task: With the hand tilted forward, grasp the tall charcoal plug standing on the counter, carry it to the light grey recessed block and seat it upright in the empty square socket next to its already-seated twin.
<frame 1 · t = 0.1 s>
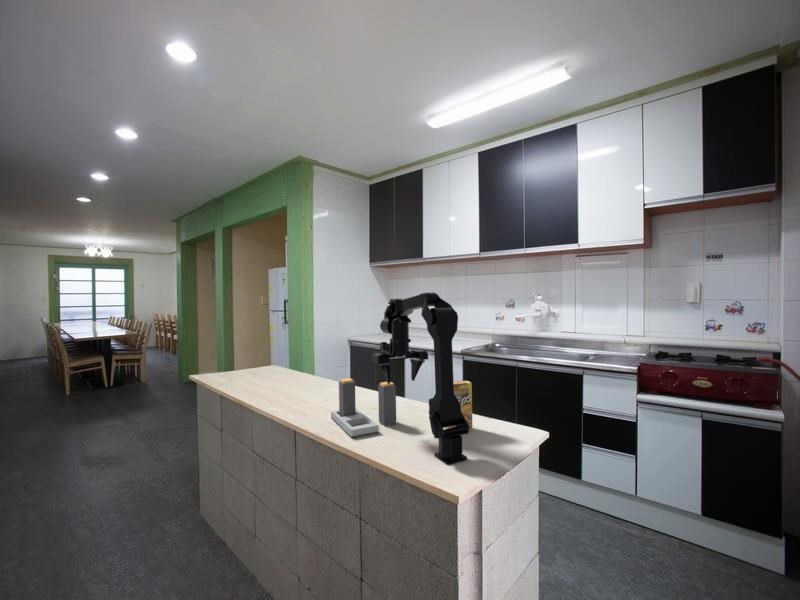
hand: (400, 382, 120), 15 cm above the countertop, tool pointing down, fingers open, 9 cm apart
light grey recessed block: (353, 425, 122), on the countertop
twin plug: (347, 420, 127), resting on light grey recessed block
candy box: (457, 430, 116), on the countertop
plug: (387, 423, 123), on the countertop
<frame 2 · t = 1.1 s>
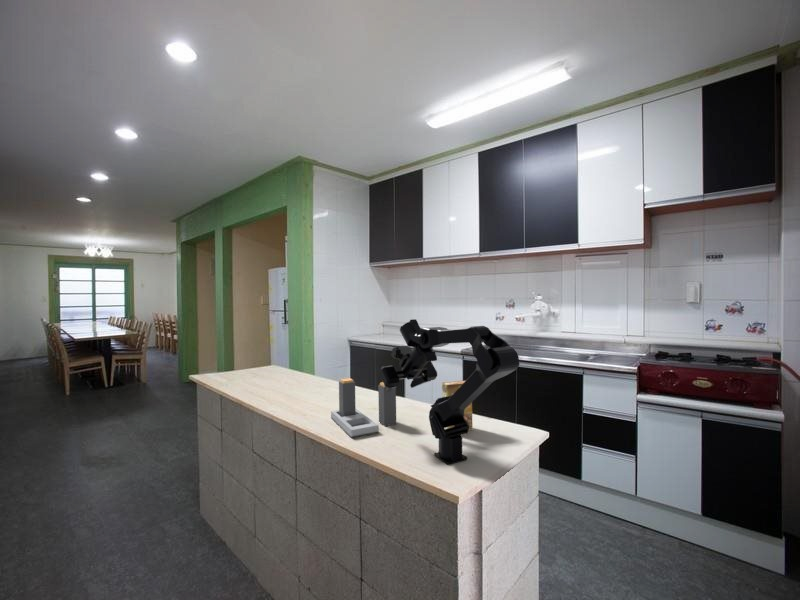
hand: (399, 388, 116), 13 cm above the countertop, tool tilted 45°, fingers open, 9 cm apart
nothing on the countertop moved.
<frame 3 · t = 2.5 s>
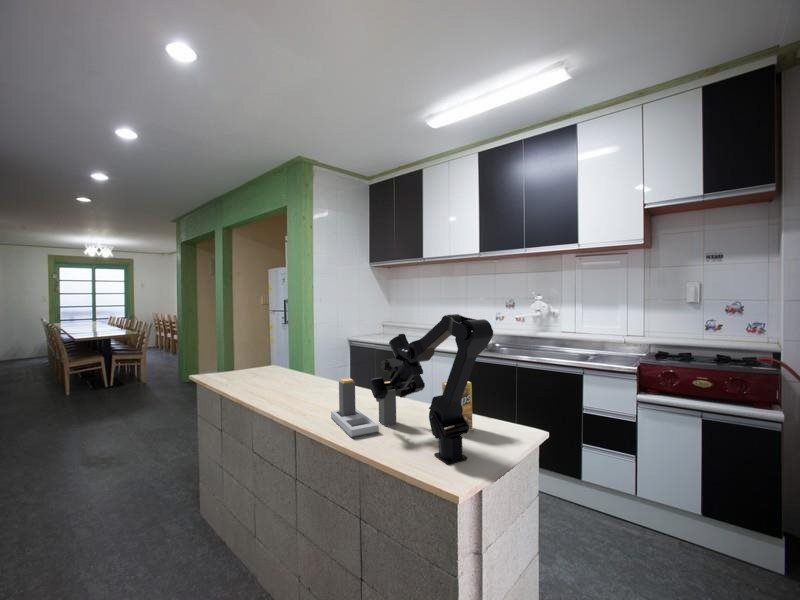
hand: (388, 398, 122), 9 cm above the countertop, tool tilted 45°, fingers open, 9 cm apart
nothing on the countertop moved.
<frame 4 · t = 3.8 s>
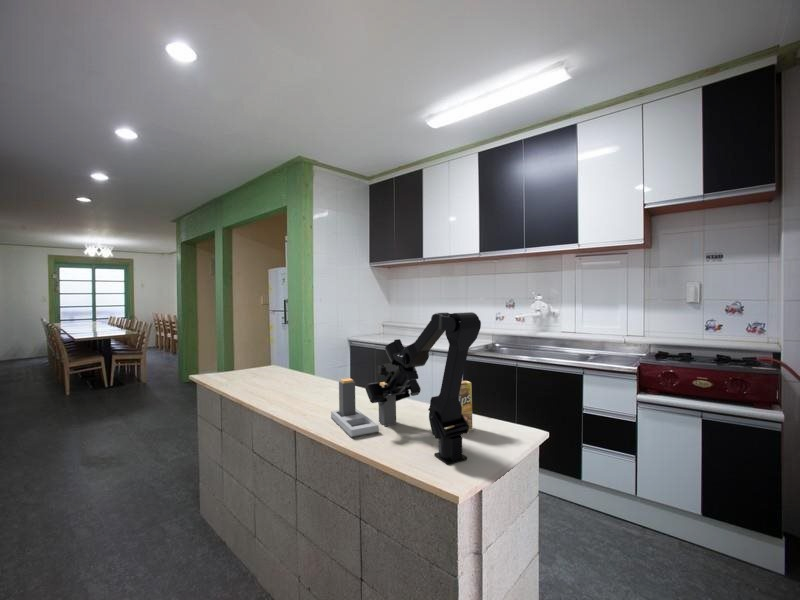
hand: (385, 402, 124), 7 cm above the countertop, tool tilted 45°, fingers closed on plug, 5 cm apart
plug: (387, 423, 123), on the countertop, touching gripper
everything else where it was.
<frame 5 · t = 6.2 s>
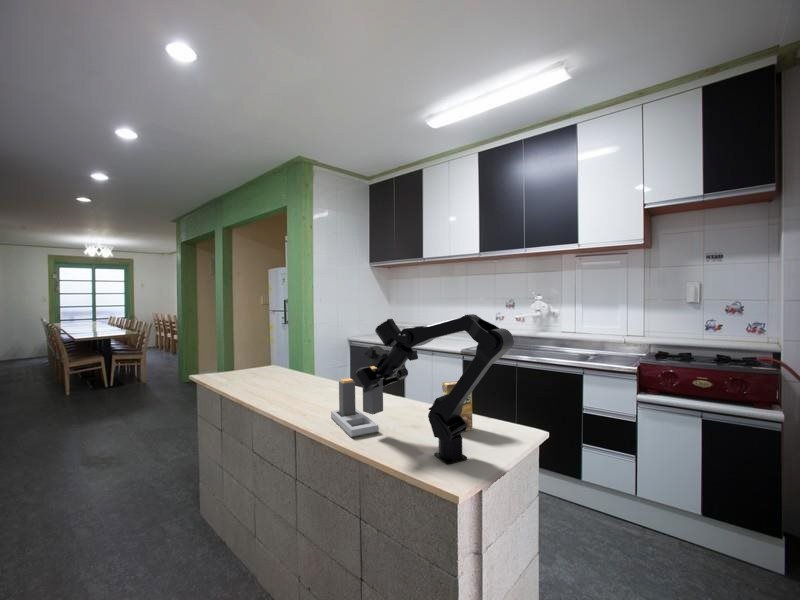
hand: (369, 389, 114), 14 cm above the countertop, tool tilted 45°, fingers closed on plug, 5 cm apart
plug: (373, 411, 113), point 7 cm above the countertop, touching gripper
everything else where it was.
when the fingers open (9 cm above the countertop, at t = 8.4 s): plug drops 2 cm, resting on light grey recessed block.
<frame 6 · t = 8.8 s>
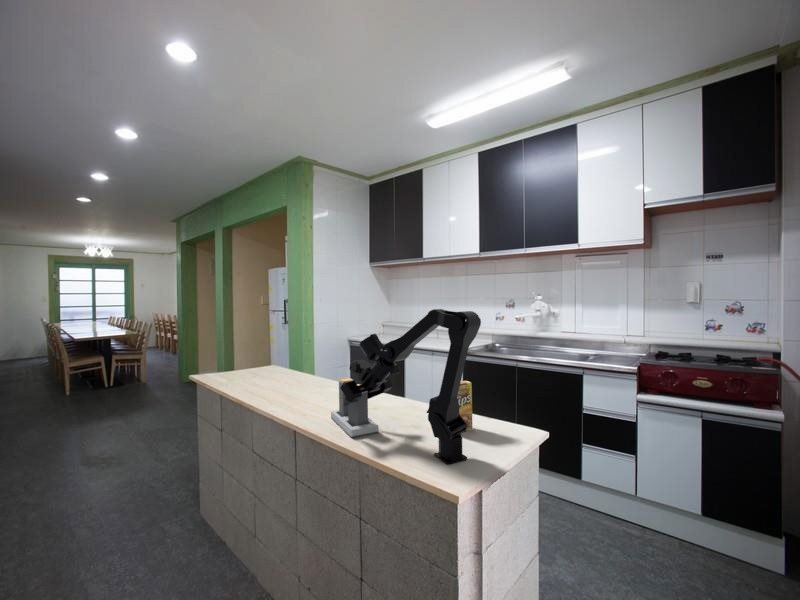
hand: (355, 401, 118), 9 cm above the countertop, tool tilted 45°, fingers open, 9 cm apart
plug: (358, 428, 117), resting on light grey recessed block
everything else where it was.
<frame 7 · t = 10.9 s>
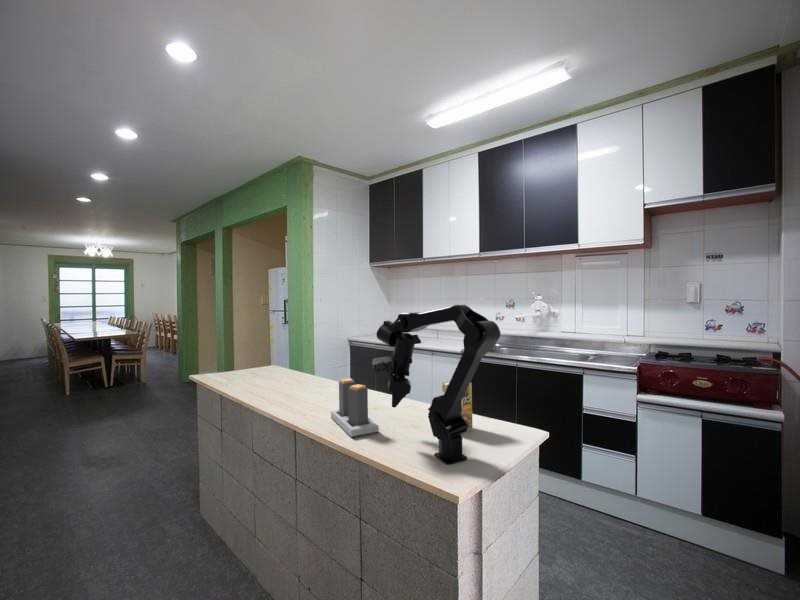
hand: (393, 399, 111), 11 cm above the countertop, tool tilted 20°, fingers open, 9 cm apart
nothing on the countertop moved.
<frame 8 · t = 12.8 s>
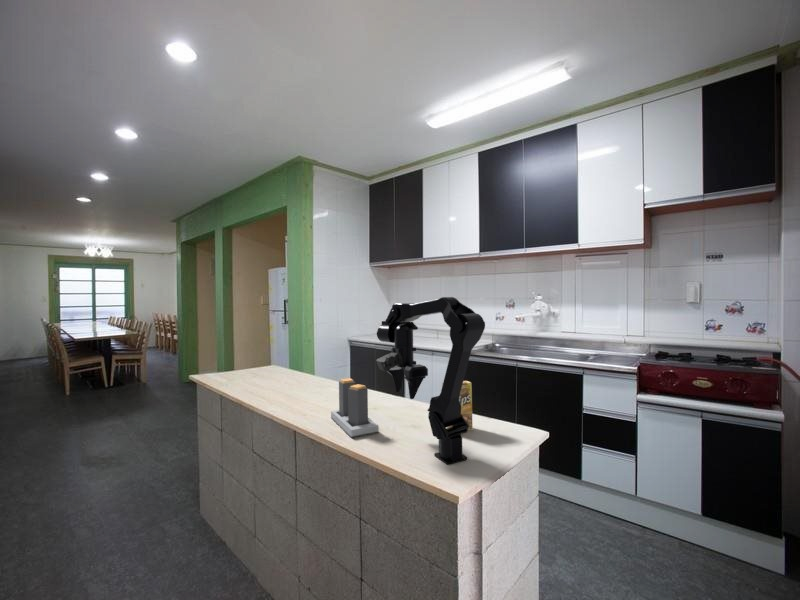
hand: (404, 395, 109), 13 cm above the countertop, tool pointing down, fingers open, 9 cm apart
nothing on the countertop moved.
at the end: plug 0.0 cm from the target spot, point 0.5 cm above the countertop; plug tilted 0°; the gripper is holding nothing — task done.
